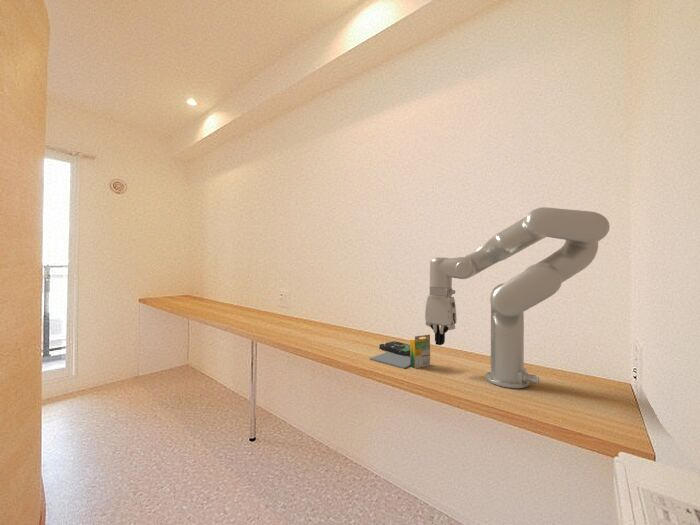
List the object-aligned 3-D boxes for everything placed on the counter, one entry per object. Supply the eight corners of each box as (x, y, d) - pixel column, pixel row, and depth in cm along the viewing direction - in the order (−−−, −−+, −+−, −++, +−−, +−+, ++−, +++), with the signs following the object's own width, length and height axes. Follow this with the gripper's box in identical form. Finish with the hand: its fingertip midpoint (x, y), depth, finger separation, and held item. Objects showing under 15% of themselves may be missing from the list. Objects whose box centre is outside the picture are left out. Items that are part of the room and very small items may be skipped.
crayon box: (425, 363, 116) (425, 332, 116) (430, 365, 114) (430, 334, 114) (409, 366, 113) (409, 334, 113) (414, 368, 110) (415, 336, 111)
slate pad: (421, 361, 119) (421, 360, 119) (404, 368, 110) (404, 367, 110) (387, 353, 130) (387, 352, 130) (369, 359, 121) (369, 358, 121)
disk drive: (378, 350, 136) (405, 357, 125) (378, 344, 136) (405, 351, 125) (394, 346, 143) (420, 353, 132) (394, 340, 143) (420, 346, 132)
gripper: (465, 293, 106) (464, 346, 106) (426, 290, 116) (425, 338, 116) (456, 294, 100) (455, 350, 100) (416, 291, 111) (415, 342, 110)
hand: (439, 344), depth 108 cm, fingers closed
